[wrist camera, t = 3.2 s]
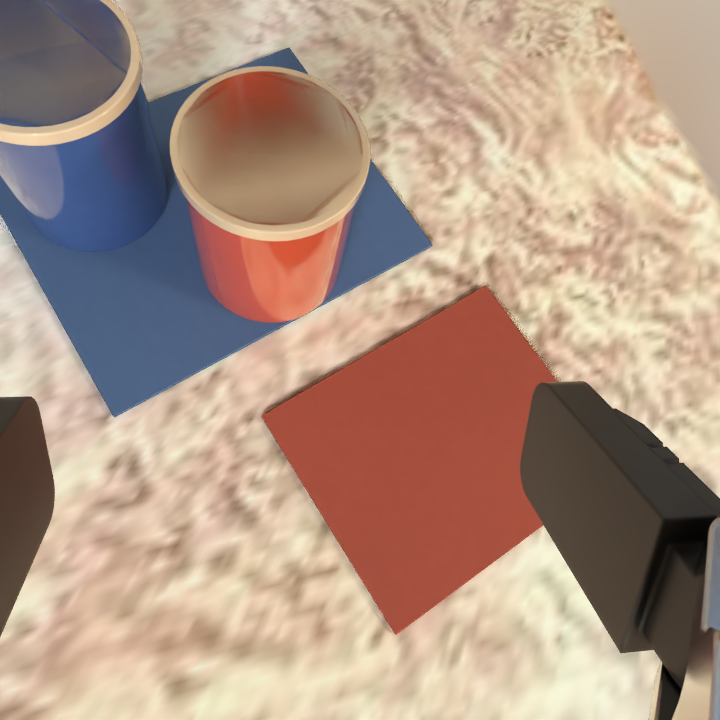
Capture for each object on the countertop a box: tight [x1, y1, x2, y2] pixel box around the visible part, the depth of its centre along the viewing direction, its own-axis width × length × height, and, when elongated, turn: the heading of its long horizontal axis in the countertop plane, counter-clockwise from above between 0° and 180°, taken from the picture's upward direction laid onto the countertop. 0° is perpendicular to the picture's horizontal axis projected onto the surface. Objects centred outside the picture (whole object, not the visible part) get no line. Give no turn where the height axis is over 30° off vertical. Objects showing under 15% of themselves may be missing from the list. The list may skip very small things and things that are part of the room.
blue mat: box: [0, 48, 432, 417], centre depth 29 cm, size 16×13×1 cm
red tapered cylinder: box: [169, 66, 370, 323], centre depth 25 cm, size 7×7×8 cm
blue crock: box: [0, 0, 168, 252], centre depth 25 cm, size 7×7×8 cm
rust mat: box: [262, 286, 557, 634], centre depth 27 cm, size 12×10×1 cm
